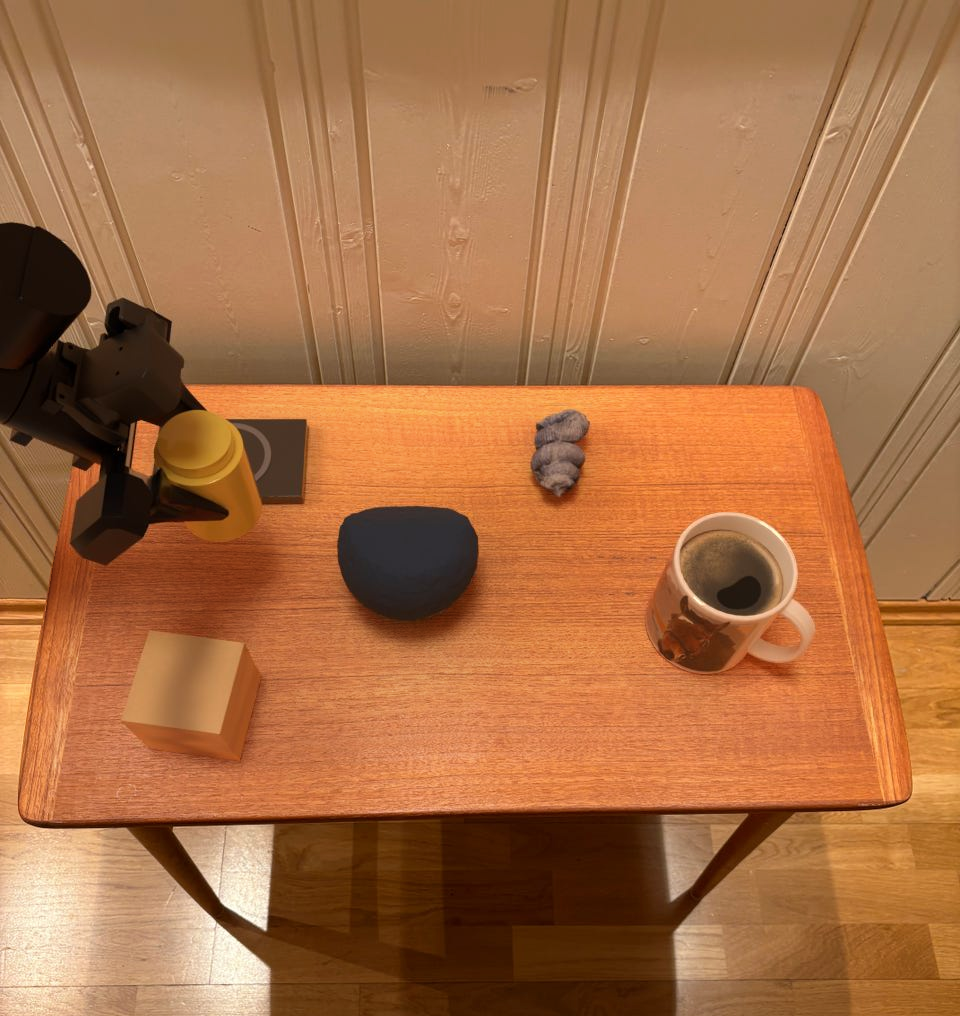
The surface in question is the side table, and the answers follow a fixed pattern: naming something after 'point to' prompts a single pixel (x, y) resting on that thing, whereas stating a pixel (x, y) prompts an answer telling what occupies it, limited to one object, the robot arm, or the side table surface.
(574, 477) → the seashell
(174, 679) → the cube
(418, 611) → the decorative stone
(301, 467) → the hob
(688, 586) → the mug
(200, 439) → the jar
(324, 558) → the side table surface
